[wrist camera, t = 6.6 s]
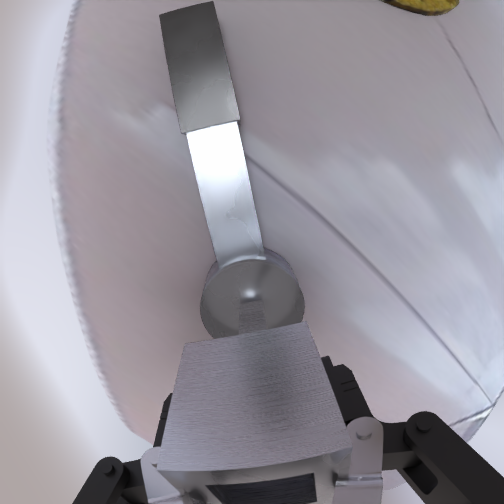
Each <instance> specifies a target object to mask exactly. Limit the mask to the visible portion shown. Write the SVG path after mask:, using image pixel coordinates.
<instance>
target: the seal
mask: <svg viewBox="0 0 504 504" xmlns="http://www.w3.org/2000/svg"><path fill="white" fill-rule="evenodd" d="M381 1H383V2H385V3H388V4H390V5H393V6H397V7H400V8H403V9H406V10H409V11H411V12H414V13H419V14H423V15H428V16H435V15H441V14H444V13H447V12H449V11H450V10H452V9H453V8H454V7H456V6H457V5H458V4H459V0H381Z"/></svg>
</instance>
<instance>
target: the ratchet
mask: <svg viewBox="0 0 504 504" xmlns="http://www.w3.org/2000/svg"><path fill="white" fill-rule="evenodd" d="M159 17H160V23H161V29H162V35H163V41H164V47H165V53H166V59H167V64H168V70H169V75H170V80H171V86H172V91H173V96H174V101H175V106H176V111H177V116H178V120H179V125H180V130H181V133H182V134H185V135H187V139H188V144H189V148H190V153H191V157H192V161H193V166H194V170H195V174H196V179H197V183H198V187H199V192H200V196H201V200H202V204H203V208H204V212H205V216H206V220H207V224H208V228H209V232H210V236H211V240H212V244H213V248H214V252H215V256H216V259H217V261H216V262H215V263H214V264H213V266H212V267H211V269H210V271H209V273H208V276H207V279H206V283H205V287H204V290H203V294H202V299H201V303H200V312H201V318H202V321H203V324H204V326H205V328H206V329H207V331H208V332H209V334H210V335H211V336H212V337H213V338H214V339H218V338H224V337H230V336H236V335H242V334H247V333H252V332H258V331H263V330H268V329H273V328H278V327H282V326H287V325H292V324H296V323H301V321H302V319H303V315H304V307H305V306H304V298H303V294H302V291H301V289H300V287H299V284H298V282H297V280H296V277H295V275H294V273H293V271H292V269H291V267H290V265H289V264H288V263H287V262H286V260H284V259H283V258H282V257H281V256H280V255H278V254H277V253H275V252H273V251H271V250H269V249H266V248H263V244H262V239H261V234H260V229H259V224H258V219H257V214H256V209H255V205H254V200H253V195H252V190H251V186H250V181H249V176H248V171H247V167H246V162H245V157H244V153H243V148H242V143H241V139H240V134H239V129H238V125H240V115H239V111H238V106H237V102H236V97H235V93H234V88H233V84H232V79H231V75H230V71H229V66H228V62H227V58H226V53H225V49H224V45H223V40H222V36H221V32H220V28H219V23H218V19H217V15H216V11H215V7H214V2H213V1H211V2H206V3H201V4H197V5H193V6H189V7H185V8H181V9H177V10H174V11H170V12H167V13H164V14H161V15H159Z"/></svg>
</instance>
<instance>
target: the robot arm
mask: <svg viewBox="0 0 504 504" xmlns="http://www.w3.org/2000/svg"><path fill="white" fill-rule="evenodd" d="M321 360H322V363H323V366H324V368H325V371H326V374H327V376H328V379H329V382H330V384H331V387H332V390H333V392H334V395H335V398H336V401H337V403H338V406H339V409H340V412H341V414H342V417H343V420H344V423H345V426H346V428H347V431H348V434H349V437H350V440H351V443H352V445H353V449H352V457H351V464H350V467H346V468H343V469H339V473H338V478H337V481H336V485H335V490H334V495H333V500H332V504H381V499H382V489H383V478H382V471H383V470H394V469H397V471H398V472H399V473H400V474H401V476H402V477H403V478H404V479H405V480H406V482H407V483H408V484H409V485H410V486H411V487H412V489H413V490H414V491H415V492H416V493H417V494H418V496H419V497H420V498H421V499H422V500H423V502H424V503H425V504H504V477H503V476H501V474H499V473H498V472H497V471H496V470H495V469H494V468H493V467H492V466H491V465H490V464H489V463H488V462H487V461H486V460H484V459H483V458H482V457H481V456H480V455H479V454H478V453H477V452H476V451H475V450H474V449H473V448H472V447H470V446H469V445H468V444H467V443H466V442H465V441H464V440H463V439H462V438H461V437H460V436H459V435H458V434H456V433H455V432H454V431H453V430H452V429H451V428H450V427H449V426H448V425H447V424H446V423H445V422H443V421H442V420H441V419H440V418H439V417H438V416H437V415H436V414H434V413H432V412H427V411H423V412H418V413H416V414H414V415H412V416H411V417H410V418H409V419H408V421H407V422H399V423H384V422H381V421H379V420H377V419H376V418H375V417H374V416H373V415H372V414H371V412H370V409H369V407H368V405H367V403H366V401H365V399H364V396H363V394H362V392H361V390H360V388H359V386H358V384H357V381H356V380H355V377H354V375H353V373H352V371H351V370H350V369H349V368H347V367H346V366H345V365H344V364H341V365H337V366H334V367H333V364H332V362H331V359H330V357H329V356H326V357H322V358H321ZM172 395H173V393H170V395H169V396H168V397H167V399H166V400H165V401H164V404H163V408H162V413H161V416H160V421H159V425H158V429H157V433H156V437H155V442H154V446H153V448H151V449H149V450H147V451H146V452H145V453H144V454H143V456H142V458H141V459H139V460H135V461H130V462H125V463H122V462H121V461H120V460H119V459H117V458H115V457H105V458H103V459H101V460H100V461H99V462H98V463H97V464H96V466H95V468H94V469H93V471H92V472H91V474H90V476H89V477H88V479H87V480H86V482H85V484H84V485H83V487H82V489H81V490H80V492H79V494H78V495H77V497H76V499H75V500H74V502H73V503H72V504H193V502H192V500H191V498H190V496H189V493H188V492H187V491H186V490H185V489H184V488H175V487H174V486H172V485H171V484H170V483H169V482H168V481H167V480H166V479H165V478H164V477H163V476H162V475H161V474H160V473H159V472H158V471H157V470H156V469H157V464H158V459H159V454H160V449H161V444H162V439H163V435H164V430H165V425H166V421H167V416H168V412H169V407H170V403H171V399H172Z"/></svg>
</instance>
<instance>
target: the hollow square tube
mask: <svg viewBox="0 0 504 504" xmlns="http://www.w3.org/2000/svg"><path fill="white" fill-rule="evenodd" d="M352 449H353V445H352V443H351V440H350V437H349V434H348V431H347V428H346V426H345V423H344V420H343V417H342V414H341V412H340V409H339V406H338V403H337V401H336V398H335V395H334V392H333V390H332V387H331V384H330V382H329V379H328V376H327V374H326V371H325V368H324V366H323V363H322V360H321V358H320V355H319V352H318V350H317V347H316V344H315V342H314V339H313V337H312V334H311V331H310V329H309V326H308V324H307V321H305V322H301V323H296V324H292V325H287V326H282V327H278V328H273V329H268V330H263V331H258V332H252V333H247V334H242V335H236V336H230V337H224V338H218V339H212V340H206V341H199V342H192V343H185V346H184V350H183V354H182V357H181V361H180V365H179V370H178V374H177V378H176V382H175V386H174V390H173V395H172V399H171V403H170V407H169V412H168V416H167V421H166V425H165V430H164V435H163V439H162V444H161V449H160V454H159V459H158V464H157V469H156V470H157V471H158V472H159V473H160V474H161V475H162V476H163V477H164V478H165V479H166V480H167V481H168V482H169V483H170V484H171V485H172V486H174V487H175V488H184V489H185V490H186V491H187V492H188V493H189V496H190V498H191V500H192V502H193V504H332V500H333V495H334V490H335V485H336V481H337V478H338V473H339V469H343V468H346V467H350V464H351V457H352Z"/></svg>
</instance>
